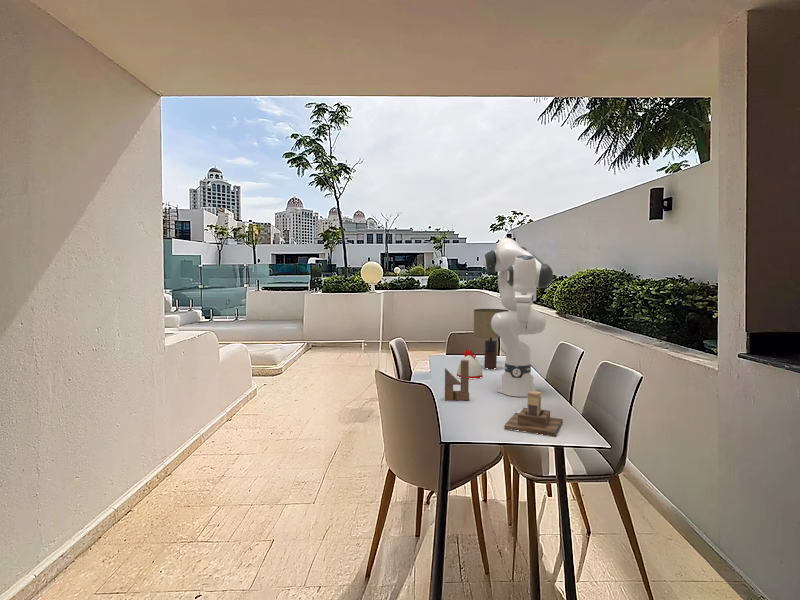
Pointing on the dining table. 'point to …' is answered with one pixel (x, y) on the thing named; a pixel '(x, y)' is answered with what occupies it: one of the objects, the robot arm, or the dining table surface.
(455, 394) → the wooden block
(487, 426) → the dining table surface
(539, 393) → the tan rectangular box
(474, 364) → the kitchen timer
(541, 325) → the robot arm
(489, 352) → the lamp
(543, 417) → the post base
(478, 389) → the dining table surface
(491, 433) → the dining table surface
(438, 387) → the dining table surface
